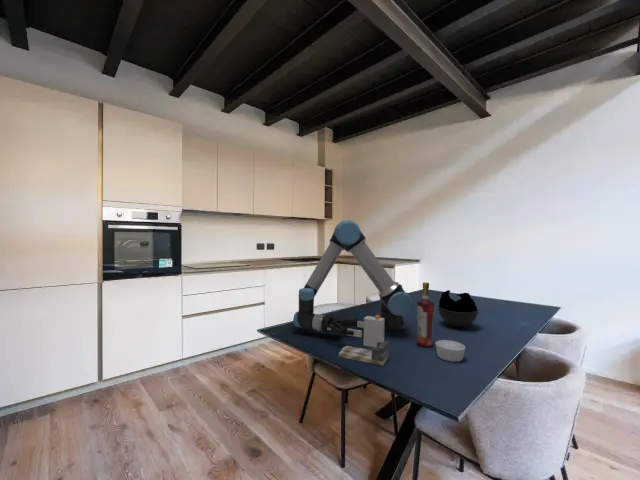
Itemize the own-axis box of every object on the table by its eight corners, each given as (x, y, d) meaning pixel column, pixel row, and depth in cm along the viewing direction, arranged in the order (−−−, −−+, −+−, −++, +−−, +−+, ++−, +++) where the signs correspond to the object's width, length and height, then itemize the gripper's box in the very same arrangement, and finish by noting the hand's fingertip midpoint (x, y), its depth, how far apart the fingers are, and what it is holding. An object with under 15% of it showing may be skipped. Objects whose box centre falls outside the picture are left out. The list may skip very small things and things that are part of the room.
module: (363, 345, 134) (363, 315, 134) (366, 341, 139) (367, 312, 138) (381, 348, 131) (381, 317, 130) (384, 344, 135) (384, 315, 135)
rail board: (338, 356, 121) (338, 340, 121) (346, 349, 129) (346, 334, 129) (383, 365, 113) (383, 348, 113) (388, 357, 121) (388, 341, 121)
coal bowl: (485, 332, 155) (486, 296, 154) (446, 331, 155) (446, 295, 155) (467, 321, 175) (467, 289, 174) (432, 320, 175) (432, 288, 175)
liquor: (412, 343, 137) (413, 282, 137) (425, 341, 140) (426, 281, 140) (424, 348, 131) (425, 284, 130) (437, 346, 134) (438, 283, 133)
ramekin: (463, 365, 114) (463, 352, 114) (432, 359, 120) (432, 345, 120) (466, 356, 124) (467, 343, 124) (438, 350, 130) (438, 338, 130)
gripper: (333, 324, 156) (373, 330, 147) (311, 338, 134) (357, 347, 124) (334, 309, 156) (374, 315, 147) (311, 321, 134) (357, 329, 124)
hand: (366, 329), depth 136 cm, fingers open, 13 cm apart
